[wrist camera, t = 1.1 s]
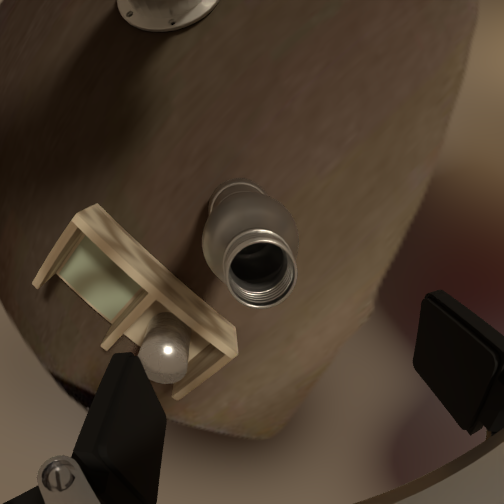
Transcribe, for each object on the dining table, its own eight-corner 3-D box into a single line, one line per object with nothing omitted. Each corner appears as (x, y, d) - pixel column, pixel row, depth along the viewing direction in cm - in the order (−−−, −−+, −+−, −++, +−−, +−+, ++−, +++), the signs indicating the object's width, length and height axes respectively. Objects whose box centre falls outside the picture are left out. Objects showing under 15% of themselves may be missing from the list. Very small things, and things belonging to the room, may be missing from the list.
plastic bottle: (218, 241, 35) (217, 346, 16) (202, 184, 32) (176, 227, 14) (272, 227, 35) (333, 315, 16) (259, 169, 33) (313, 192, 14)
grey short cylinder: (142, 315, 36) (129, 347, 29) (184, 308, 36) (179, 341, 29) (155, 350, 38) (146, 385, 31) (195, 345, 38) (193, 381, 31)
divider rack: (53, 265, 33) (31, 283, 28) (97, 203, 32) (76, 213, 26) (181, 372, 40) (177, 400, 35) (235, 327, 39) (238, 354, 33)
